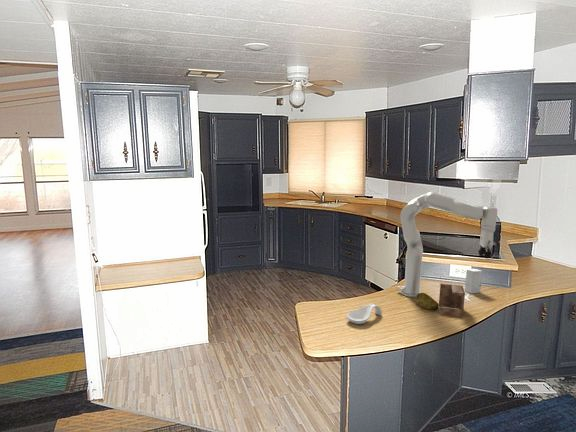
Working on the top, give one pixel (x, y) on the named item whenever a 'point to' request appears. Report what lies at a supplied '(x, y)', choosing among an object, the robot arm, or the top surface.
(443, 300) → the cubby
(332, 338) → the top surface
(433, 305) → the potato
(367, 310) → the spoon rest
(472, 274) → the skincare box
